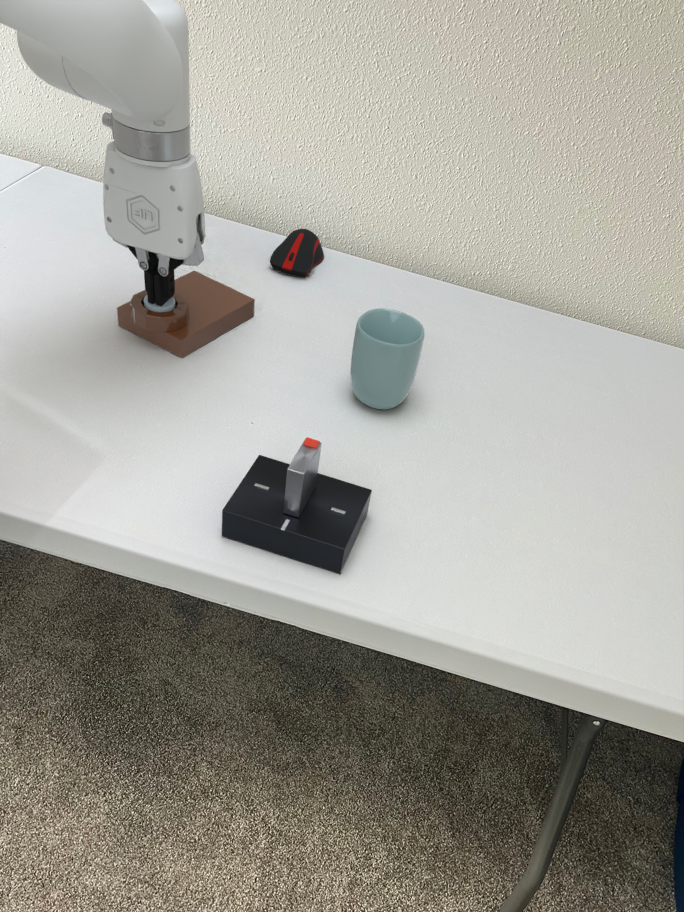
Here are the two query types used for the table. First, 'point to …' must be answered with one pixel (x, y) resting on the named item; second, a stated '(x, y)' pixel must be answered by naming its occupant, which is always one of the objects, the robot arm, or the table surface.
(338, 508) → the plate
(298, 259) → the computer mouse
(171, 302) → the pale blue short cylinder
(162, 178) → the robot arm
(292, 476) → the tap knob
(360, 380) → the cup
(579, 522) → the table surface
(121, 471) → the table surface
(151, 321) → the brown mounting plate
